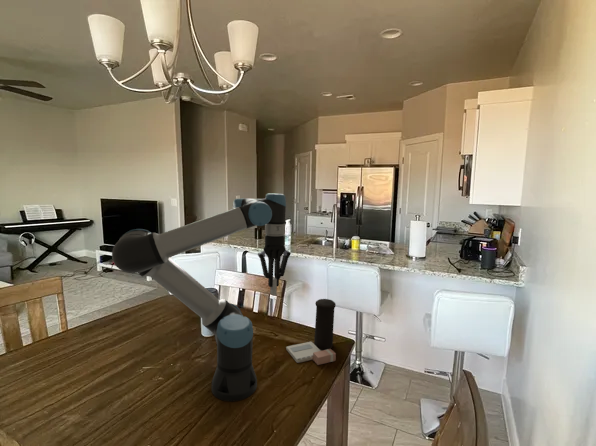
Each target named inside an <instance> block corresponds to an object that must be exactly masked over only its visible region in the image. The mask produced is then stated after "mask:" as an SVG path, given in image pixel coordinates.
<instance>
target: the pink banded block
mask: <svg viewBox="0 0 596 446" xmlns="http://www.w3.org/2000/svg"><path fill="white" fill-rule="evenodd" d="M336 356H337V353H336V352H335V351H334V350H332V349H331V348H330V349H327V350H323V349H322V350H321V351H318V352H314V353H313V359H312V361H313V362H315V364H316V365H317V366H319V365H323V364H327V363H331V362H332V363H333V362H335V361H336V358H337V357H336Z"/></svg>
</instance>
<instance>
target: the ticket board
mask: <svg viewBox="0 0 596 446" xmlns="http://www.w3.org/2000/svg"><path fill="white" fill-rule="evenodd" d="M285 348H286V349H285V350H286V351H287V352H288V354H289V355H290V357H292V359H293V360H294V361H295V362H296V363H298V364H299V363H303V362H308V361H313V353H314V352H318V351H322V349H319V348H318V347H317V346H316V345H315V344H314V341H307V342H303V343H297V344H292V345H288V346H285Z"/></svg>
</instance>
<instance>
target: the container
mask: <svg viewBox="0 0 596 446" xmlns="http://www.w3.org/2000/svg"><path fill="white" fill-rule="evenodd" d="M315 306H316V310H315V311H316V312H315V325H314V339H313V340H314V341H313V343H314V344H315V345H316V346H317V347H318V348H319V349H320V350H322V351H323V350H327V349H331V348H333V345H334V323H335V321H334V320H335V319H334V318H335V308H336V302H335V301H334V300H332V299H329V298H320V299H317V300H316V301H315Z"/></svg>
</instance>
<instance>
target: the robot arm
mask: <svg viewBox="0 0 596 446" xmlns="http://www.w3.org/2000/svg"><path fill="white" fill-rule="evenodd" d="M286 211H287V198H286V195H285V194H283V193H271V192H269V193H266V194H265V198H247V197H246V198H243V197H242V198H234V199H233V202H232V208H231V209H229V210H227V211H224V212H220V213H217V214H214V215H212V216H208V217H205V218H203V219H200V220H197V221H194V222H192V223H188V224H186V225H183V226H180V227H177V228H176V227H175V228H174V229H171V230H168V231H165V232H162V233H156V232H151V231H149V230H148V229H143V228H136V229H135V228H134V229H130V230H129V231H127V232H125V233H124V234H122V235H121V236H120V237H119V240H117V242H116V243H115V244H114V245H113V247H112V251H111V259H112V262H113V264H114V265H115V267H116V268H118V269H119V270H120V271H122V272H123V273H128V274H138V275H140V276H141V277H142V278H144V277H145V278H146V277H147V278H148V277H150V278H151V279H152V280H154V281H155V282H156V284H157V283H158V285H160V286H161V287H162V288H164V289H165V290H166V291H167V292H169V293H170V294H171V295H172V296H174V297H175V298H176V299H177V300H179V301H180V302H181V303H182V304H183V305H185V306H186V307H187V308H188V309H189V310H191V311H192V312H194V313H195V314H196V315H197V316H199V317H200V318H201V321H202V322H201V323H202V326H203V327H205V328H206V329H207V330H209V331H210V332H211V333H212V334H214V339H215V342H216V368H215V372H214V375H213V377H212V379H211V393H212V394H213V395H212V396H214V397H215V398H217V399H218V400H221V401H224V402H238V401H243V400H246V399H247V398H249V397H250V396H252V395H253V394H254V393H255V391H256V389H257V387H258V379H257V378H258V377H257V375H256V372H255V368H254V366H253V345H254V344H253V337H254V327H253V323H252V321H251V319H250V318H249V317H247V316H244V315H243V312H242V311H241V309H240V308H239V307H238V306H237V305H235V304H234V303H231V302H229V301H227V300H226V299H225V298H218V297H217V296H215V295H214V294H213V293H212V292H210V290H208V289H207V288H206V287H205V286H203V285H202V284H201V283H200V282H198V280H197V279H195V278H194V277H193V276H192V275H191V274H190V273H189V272H187V271H186V270H185V269H184V268H182V267H181V265H179V264H178V263H177V262H175V261H174V260H173V259H172V257H174V256H177V255H180V254H182V253H186V252H188V251H190V250H193V249H196V248H199V247H202V246H204V245H206V244H210V243H212V242H215V241H217V240H220V239H223V238H226V237H229V236H231V235H234V234H236V233H240V232H242V231H244V230H246V229H250V228H252V227H255V226H256V227H263V226H264V233H265V235H264V246H263V250H262V251H261V252H258V253H257V256H258V257H259V259H260V260H259V261H260V266H261V269H262V273H263V277H265V278H266V279H268V281H267V282H268V287H270V291H269V292H270V293H269V294H270V295H271V296H272V297H274V296H277V287H279V286H280V279H281V277H284V275H285V272H286V268H287V265H288V260H289V257H290V256H291V253H292V252H291V251H288V250H286V247H285V244H286V243H285V240H286V238H285V237H286V236H285V233H286V213H287V212H286ZM265 257H267V260H268V266H267V262H266V258H265Z"/></svg>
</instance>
